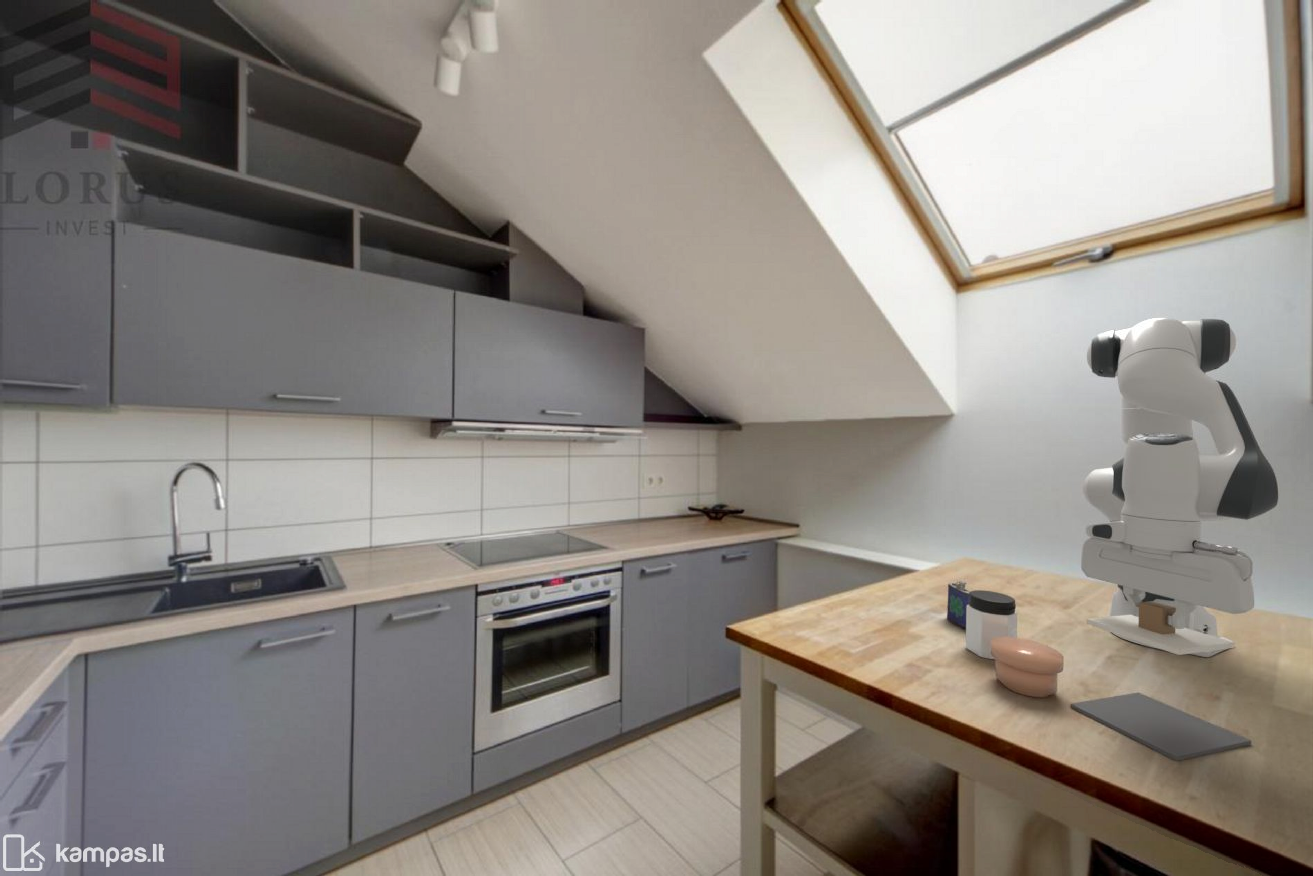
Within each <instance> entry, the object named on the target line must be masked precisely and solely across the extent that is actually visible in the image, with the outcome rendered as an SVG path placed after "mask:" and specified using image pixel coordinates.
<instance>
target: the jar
mask: <svg viewBox="0 0 1313 876" xmlns="http://www.w3.org/2000/svg"><path fill="white" fill-rule="evenodd" d="M970 591H971V592H969V604H968V605H967V606H966V630H965V648H966V650H969V651H970V652H972V653H974V654H975V655H977V656H978V657H980V658H983V659H988V658H989V659H988V660H993V659H994V661H996V659H995V658H994V657H993V656H992V655H991V640H992V639H994V638H997V637H1014V638H1018V612H1017V611H1016V606H1017V605H1016V600H1015V598H1013V597H1012V596H1010V595H1008V594H1004V593H1001V592H997V591H991V590H983V589H982V590H975V589H974V590H970Z"/></svg>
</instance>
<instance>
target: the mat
mask: <svg viewBox="0 0 1313 876" xmlns="http://www.w3.org/2000/svg"><path fill="white" fill-rule="evenodd" d="M1069 708H1071V709H1074V710H1075V711H1076V712H1079V713H1080V714H1082V715H1084V716H1086V717H1089V718H1091V719H1093V720H1095V721H1097V722H1098V723H1101V724H1103V725H1105V726H1106V727H1109V728H1110V729H1112V730H1114V731H1117V732H1118V733H1120V734H1123V735H1125V736H1127V737H1129V738H1130V739H1131V740H1135V741H1137V742H1138V743H1140V744H1142V745H1144V746H1147V747H1148V748H1151V749H1152V750H1154V751H1156V752H1158V753H1159V754H1162V755H1164V756H1166V757H1168V758H1169V759H1172V760H1174V761H1177V762H1178V761H1182V760H1187V759H1191V758H1196V757H1201V756H1205V755H1209V754H1215V753H1218V752H1224V751H1228V750H1233V749H1237V748H1240V747H1245V746H1250V745H1252V740H1251V739H1249V738H1248V737H1245V736H1242V735H1239V734H1237V733H1235V732H1232V731H1230V730H1228V729H1225V728H1224V727H1222V726H1218V725H1216V724H1214V723H1211V722H1209V721H1207V720H1205V719H1201V718H1200V717H1197V716H1195V715H1192V714H1190V713H1188V712H1185V711H1183V710H1181V709H1178V708H1176V707H1174V706H1172V705H1169V704H1167V703H1164V702H1162V701H1159V700H1157V699H1155V698H1153V697H1151V696H1148V695H1145V694H1143V693H1141V692H1133V693H1127V694H1120V695H1114V696H1110V697H1104V698H1098V699H1092V700H1085V701H1079V702H1073V703H1070V707H1069Z"/></svg>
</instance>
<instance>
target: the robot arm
mask: <svg viewBox="0 0 1313 876" xmlns="http://www.w3.org/2000/svg"><path fill="white" fill-rule="evenodd" d="M1236 345H1237V338H1236V335H1235V333H1234V331H1233V330H1232V328H1231V326H1230V324H1229V323H1228V322H1227V321H1225V319H1218V318H1217V319H1216V318H1215V319H1214V318H1200V320H1185V321H1184V320H1182V321H1181V320H1178V319H1174V318H1170V317H1157V318H1155V317H1154V318H1150V319H1147V320H1144V321H1141V322H1139V323H1137V324H1136V325H1134V326H1133V327H1130V328H1129V327H1128V328H1125V329H1120V330H1115V329H1113V330H1108V331H1105V332H1102V333H1099V334H1097V335H1096V336H1095V337H1093V338H1092V339H1091V343H1089V346H1088V349H1087V351H1086V361H1087V365H1088V366H1089V368H1090V369H1091V372H1092V373H1093V374H1095V375H1096V376H1097V377H1102V378H1110V379H1111V378H1113V379H1115V378H1116V377H1117V384H1118V389H1119V392H1120V395H1122V399H1121V408H1122V409H1121V438H1122V440H1123V442H1124V444H1125V445H1126V449H1125V453H1124V457H1123V458H1121V459H1120V460H1118V461H1117V462H1115V463H1114V464H1112V465H1111V466H1112V467H1105V468H1095V469H1094V470H1091V472H1090V473H1088V474H1087V476H1086V477H1085V479H1084V481H1083V487H1082V490H1083V494H1084V497H1085V499H1086V500H1087V502H1088V503H1089V504H1090V505H1091V506H1093V508H1095V509H1097V510H1098V511H1099V512H1101V513H1102V515H1103V516H1105V517H1106V518H1107V519H1108V521H1107V522H1106V521H1105V522H1098V523H1090V524H1087V525H1086V527H1085V534H1086V535H1087V536H1088V538H1087V539H1086V540H1084V543H1083V546H1082V551H1081V560H1080V561H1081V564H1080V566H1081V567H1080V568H1081V571H1082V572H1083V574H1084V575H1085V576H1086V577H1087V578H1090V579H1094V580H1097V581H1101V582H1106V583H1110V584H1114V585H1117V588H1119V589H1118V590H1117V591H1115V592H1113V593H1112V597H1111V605H1110V613H1109V617H1112V616H1122V615H1133V616H1136V617H1139V602H1149V601H1153V602H1157V603H1161V604H1165V605H1168V606H1172V607H1176V612H1175V613H1174V614H1167V615H1165V619H1166V621H1165V625H1166V626H1169V627H1173V628H1176V629H1183V628H1188V629H1191V630H1194V631H1198V632H1201V633H1204V634H1208V635H1211V636H1215V637H1218V638H1221V639H1225V640H1228V641H1231V642H1233V640H1231V639H1228V638H1226V637H1224V636H1223V635H1222V636H1221V635H1219V634H1218V623H1217V617H1216V616H1215V615H1214V614H1212V612H1210V611H1209V610H1207V609H1211V610H1216V611H1219V612H1223V613H1228V614H1232V615H1233V614H1234V615H1237V614H1245V613H1248V612H1250V611H1252V610H1253V609H1254V608H1255V595H1254V586H1253V581H1252V575H1253V574H1254V573H1253V568H1254V565H1253V560H1252V558H1251V557H1250V556H1249V555H1247V554H1246V553H1245V552H1243V551H1241V550H1239V548H1237V547H1234V546H1230V545H1219V544H1215V543H1210V542H1206V541H1205V542H1204V541H1201V524H1202V522H1219V521H1227V520H1230V519H1232V518H1233V519H1237V520H1238V519H1239V520H1246V521H1248V520H1251V519H1253V518H1257V517H1259V516H1261V515H1263V514H1266V513H1267V512H1269V511H1271V510H1272V509H1275V508H1276V507H1277V505H1278V503H1279V498H1280V494H1281V493H1280V492H1281V488H1280V487H1281V486H1280V481H1279V478H1278V475H1277V474H1276V473H1275V471H1274V469H1273V467H1272V465H1271V464H1270V462H1269V460H1268V459H1267V458H1266V456H1265V455H1264V453H1263V451H1262V450H1261V448H1260V446H1259V444H1258V441H1257V438H1256V437H1255V435H1254V432H1253V430H1252V428H1251V426H1250V423H1249V422H1248V419H1247V417H1246V415H1245V412H1244V410H1243V408H1242V406H1241V404H1240V402H1239V400H1238V398H1237V397H1236V395H1235V392H1233V390H1232V388H1231V387H1230V386H1229V385H1228V384H1227V383H1225V382H1222V381H1220V380H1216V379H1214V378H1212V377H1211V376H1209V375H1208V374H1206V373H1210V372H1211V371H1214V370H1217V369H1219V368H1221V367H1223V365H1226V364H1227V363H1228V362H1229V360H1230V358H1231V357H1232V355H1233V353H1234V352H1235V349H1236ZM1193 421H1194V422H1197V423H1199V424H1201V425H1202V426H1204V427H1206V428H1207V429H1208V430H1209V433H1210V434H1211V436H1212V437H1211V438H1212V440H1213V442H1214V445H1215V447H1216V450H1217V453H1218V454H1215V455H1210V454H1209V455H1208V454H1201V452H1199V448H1198V444H1197V441H1196V439H1195V438H1194V434H1193V433H1194V432H1193V424H1192V423H1193ZM1206 608H1207V609H1206ZM1111 633H1112V634H1113V635H1115V636H1117V637H1119V638H1121V639H1123V640H1127V641H1129V642H1132V643H1134V644H1139V645H1142V646H1146V647H1150V648H1154V649H1158V650H1161V649H1160V648H1157V647H1154V646H1151V645H1148V644H1145V643H1142V642H1139V641H1136V640H1133V639H1130V638H1127V637H1124V636H1121V635H1118V634H1116V633H1113V632H1111ZM1225 650H1227V649H1221V650H1213V651H1205V652H1198V653H1190V654H1189V655H1194V656H1198V657H1204V658H1210V657H1212V656H1214V655H1217V654H1219V653H1220V652H1223V651H1225Z"/></svg>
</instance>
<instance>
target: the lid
mask: <svg viewBox="0 0 1313 876" xmlns="http://www.w3.org/2000/svg"><path fill="white" fill-rule="evenodd" d="M1175 612H1176V607H1172V606H1168V605H1165V604H1161V603H1157V602H1153V601H1149V602H1139V617H1136V616H1133V615H1122V616H1112V617H1110V616H1105V617H1103V616H1101V617H1094V618H1086V624H1087V625H1089V626H1092V627H1096V628H1099V629H1101V630H1104V631H1106V632H1110V633H1112V632H1113V633H1116V634H1118V635H1121V636H1124V637H1127V638H1130V639H1133V640H1136V641H1139V642H1142V643H1145V644H1148V645H1151V646H1154V647H1157V648H1160V649H1159V650H1163V651H1166V652H1169V653H1172V654H1175V655H1178V656H1181V655H1182V656H1183V655H1191V654H1190V653H1198V652H1205V651H1213V650H1221V649H1226V650H1229V649H1234V648H1235V642H1234V641H1232V640H1231V641H1232V642H1231V641H1228V640H1225V639H1221V638H1218V637H1215V636H1211V635H1208V634H1204V633H1201V632H1198V631H1194V630H1191V629H1188V628H1183V629H1176V628H1173V627H1169V626H1166V625H1165V621H1166V619H1165V615H1167V614H1174V613H1175ZM1113 633H1112V634H1113ZM1157 648H1156V649H1157Z"/></svg>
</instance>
